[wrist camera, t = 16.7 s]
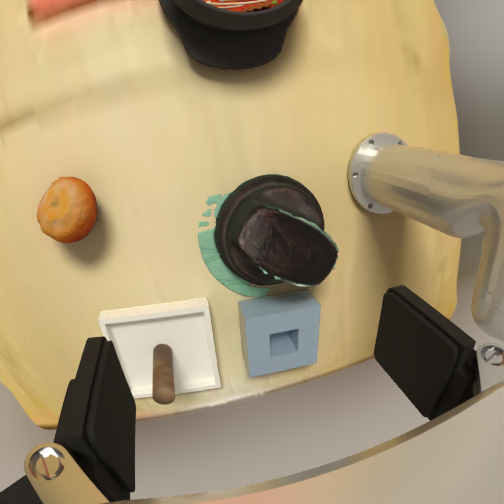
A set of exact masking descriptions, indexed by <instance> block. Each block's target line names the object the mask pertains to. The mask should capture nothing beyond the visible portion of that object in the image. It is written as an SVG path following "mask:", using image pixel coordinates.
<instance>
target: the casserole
mask: <svg viewBox="0 0 504 504" xmlns="http://www.w3.org/2000/svg"><path fill="white" fill-rule="evenodd" d="M302 1H303V0H159V2H160V4H161V7H162V9H163V12H164V13H165V14H166V16H167V17H168V18H169V20H170V21H171V22H172V24H173V25H174V26H175V28H176V29H177V30H178V32H179V34H180V37H181V39H182V41H183V43H184V46H185V48H186V50H187V53H188V54H189V55H190V56H191V57H192V58H193V59H194V60H196V61H197V62H199V63H202V64H204V65H207V66H210V67H215V68H220V69H233V70H239V69H247V68H253V67H257V66H260V65H264V64H266V63H268V62H270V61H272V60H274V59H275V58H276V57H277V56H278V54H279V53H280V52H281V50H282V46H283V43H284V39H285V36H286V32H287V29H288V27H289V26H290V24H291V22H292V20H293V18H294V17H295V15H296V13H297V11H298V8H299V6H300V5H301V3H302Z"/></svg>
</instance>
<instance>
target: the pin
mask: <svg viewBox="0 0 504 504" xmlns="http://www.w3.org/2000/svg"><path fill="white" fill-rule="evenodd" d="M152 397H153V400H154V401H155V402H157V403H159V404H164V405H165V404H170V403H172V402H173V401H174V400H175V388H174V373H173V354H172V349H171V347H170V346H168V345H166V344H159V345H157V346H155V347H154V349H153V384H152Z"/></svg>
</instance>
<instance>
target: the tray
mask: <svg viewBox="0 0 504 504" xmlns="http://www.w3.org/2000/svg"><path fill="white" fill-rule="evenodd" d="M98 321H99V324H100V328H101V331H102V334H103V336H104V337H106V339H107V341H109V340H111V341H112V342H113V344H114V347H115V350H116V353H117V356H118V358H119V361H120V364H121V367H122V369H123V372H124V375H125V377H126V380H127V382H128V385H129V387H130V390H131V392H132V395H133V397H134V398H144V397H152V384H153V349H154V347H155V346H157V345H159V344H166V345H168V346H170V347H171V349H172V354H173V373H174V388H175V394H179V393H187V392H194V391H201V390H208V389H214V388H220V387H221V384H220V378H219V372H218V366H217V359H216V353H215V346H214V340H213V333H212V326H211V319H210V312H209V305H208V301H207V297H204V298H198V299H191V300H183V301H176V302H169V303H162V304H154V305H146V306H138V307H131V308H122V309H114V310H106V311H101V313H100V316H99V319H98Z"/></svg>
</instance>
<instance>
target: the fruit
mask: <svg viewBox="0 0 504 504" xmlns="http://www.w3.org/2000/svg"><path fill="white" fill-rule="evenodd" d="M96 217H97V203H96V198H95V195H94V193H93V191H92V190H91V188H90V187H89V185H88V184H87V183H86V182H84V181H83V180H81V179H78V178H74V177H60V178H59V179H58V180H56V181H55V182H53V183H52V185H51V186H50V188H49V189H48V190H47V192H46V193H45V194H44V196H43V197H42V199H41V201H40V203H39V206H38V211H37V220H38V222H39V224H40V226H41V230H42V231H43V233H45V234H46V235H48V236H50V237H51V238H53V239H55V240H56V241H59V242H63V243H72V242H76V241H79V240H81V239H83V238H84V237H86V236H87V235H88V234H89V232H90V231H91V229H92V228H93V226H94V224H95V221H98V220H99V219H97V218H96Z"/></svg>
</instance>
